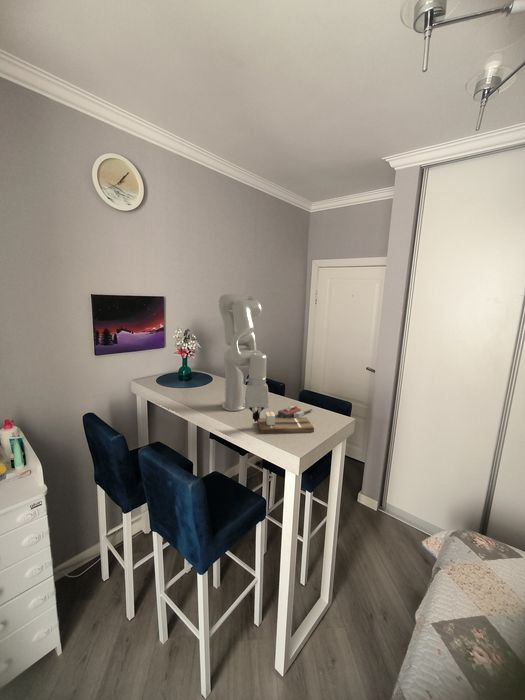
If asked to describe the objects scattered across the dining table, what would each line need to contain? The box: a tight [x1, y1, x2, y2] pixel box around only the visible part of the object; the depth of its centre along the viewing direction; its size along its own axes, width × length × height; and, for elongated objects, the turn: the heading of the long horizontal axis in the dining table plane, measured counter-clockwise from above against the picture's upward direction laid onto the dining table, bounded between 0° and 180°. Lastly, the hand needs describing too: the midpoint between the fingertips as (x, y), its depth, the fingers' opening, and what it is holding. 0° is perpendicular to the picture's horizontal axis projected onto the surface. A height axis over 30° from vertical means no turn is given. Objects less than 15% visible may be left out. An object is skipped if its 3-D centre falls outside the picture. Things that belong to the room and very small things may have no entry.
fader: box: [264, 411, 276, 425], centre depth 140 cm, size 5×4×4 cm
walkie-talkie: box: [277, 404, 313, 418], centre depth 158 cm, size 9×4×20 cm
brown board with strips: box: [256, 416, 315, 435], centre depth 142 cm, size 12×24×2 cm, turn 98°
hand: (255, 420), depth 139 cm, fingers closed
